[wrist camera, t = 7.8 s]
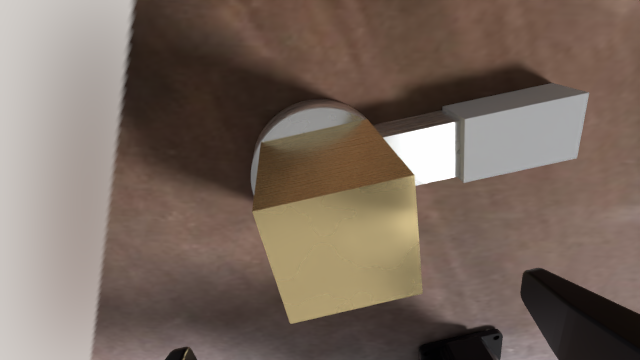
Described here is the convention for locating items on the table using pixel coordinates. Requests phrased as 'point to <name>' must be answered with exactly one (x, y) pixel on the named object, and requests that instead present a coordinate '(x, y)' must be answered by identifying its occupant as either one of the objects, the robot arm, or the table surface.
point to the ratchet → (460, 132)
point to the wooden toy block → (337, 220)
